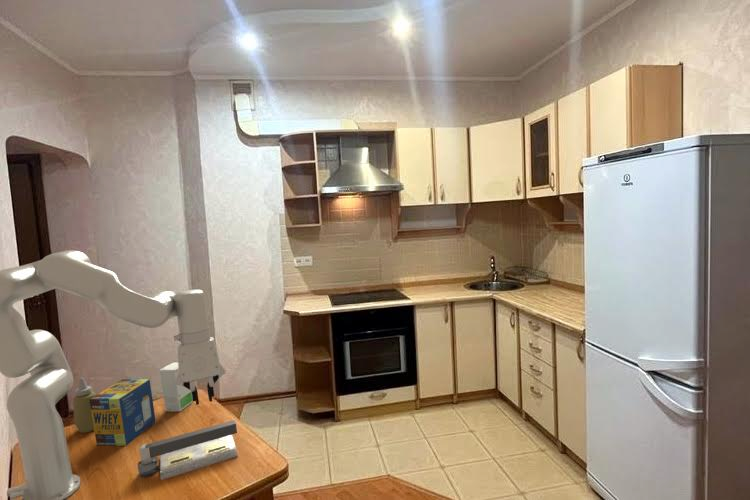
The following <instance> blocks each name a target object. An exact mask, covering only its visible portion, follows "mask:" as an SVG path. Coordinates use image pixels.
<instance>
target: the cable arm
mask: <svg viewBox="0 0 750 500" xmlns="http://www.w3.org/2000/svg"><path fill="white" fill-rule="evenodd" d="M237 430H238V428H237V423H236V420H234V419H233V420H231V421H226V422H223V423H220V424H219V423H218V424H216V425H212V426H209V427H205V428H201V429H197V430H193V431H190V432H186V433H183V434H179V435H176V436H171V437H168V438H165V439H161V440H158V441H154V442H151V443H145V444H143V445H141V446H139V448H138V450H139V455H140V456H139V457H140V461H141V463H142V464H143V465H145V464H149V463H151V462H152V461H153V460H154V459H153V457H158V456H161V455H163V454H166V453H170V452H173V451H177V450H180V449H183V448H187V447H190V446H194V445H197V444H201V443H204V442H208V441H211V440H215V439H218V438H222V437H225V436H229V435H232V436H233V435H235V434H238V431H237Z"/></svg>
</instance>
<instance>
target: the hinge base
mask: <svg viewBox="0 0 750 500" xmlns="http://www.w3.org/2000/svg"><path fill="white" fill-rule="evenodd" d="M153 459H154V460H153V461H152V462H151V463H149V464H145V465H143V464H142V463H141V460H140V461H139V462H138V463H137V471H138V476H139V477H140V478H142V479H143V478H144V479H146V478H149V477H152V476H154V475H156V474H157V473H158V472H159V470H160V465H159V458H158V456H156V457H153Z"/></svg>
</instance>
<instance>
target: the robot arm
mask: <svg viewBox="0 0 750 500" xmlns="http://www.w3.org/2000/svg"><path fill="white" fill-rule="evenodd" d="M55 289H58V290H60V291H64V292H66V293H69V294H72V295H75V296H79V297H81V298H84V300H85V299H86V300H89V301H90V302H94V303H96V304H98V305H99V306H100V307H101V308H102V309H104V310H105V311H106V312H108V313H109V314H111V315H112V316H114V317H115V318H118V319H120V320H122V321H124V322H128V323H131V324H134V325H136V326H139V327H143V328H148V329H154V328H155V329H156V328H159V327H162V326H163V325H164V324H166V323H167V322H168V321H169V320H171V319H173V318H174V317H177V325H178V332H179V333H177V334H176V335H173V340H174V342H175V341H177V342H178V341H179V343H178V345H177V362H178V367H179V372H178V374H177V377H176V380H175V384H176V385H180V386H184V387H186V388H188V389H189V390H190V391H192V398H193V402H195V404H196V406H199V405H200V404H199V403H200V399H199V393H198V388H197V385H196V381H200V380H204V379H207V381H208V382H207V385H206V388H207V395H208V400H209V402H213V397H215V394H214V393H215V392H214V391H215V390H214V386H215V384H216V382H217V381H218V380H219V378H221V377H223V376H224V375H225V374H226V369H225V368H224V367H223V365H222V364H221V363H220V358H219V353H218V352H219V351H218V348H217V344H216V341H215V339H214V336H211V330H210V329H211V328H210V322H209V315H208V306H207V300H206V299H207V298H206V294H205V292H204V291H203V290H202V289H188V290H183V291H170V290H169V291H168V290H164V291H163V290H162V291H159V292H156V293H154V294H153V295H150V296H149V297H148V296H146V295H144V294H141V293H138V292H135V291H133V290H131V289H129V288H128V287H126V286H124V285H123V284H122V283H121V282H120V280H119V278H118V275H117V274H116V272H115V271H114V272H113V271H111V270H109V269H107V268H103V267H100V266H99V265H96V264H92V262H91V259H90V258H89V256H87V254H85V253H84V252H82V251H79V250H74V249H71V250H70V249H69V250H67V249H66V250H63V251H59V252H54V253H50V254H48V255H46V256H44V257H43V258H42V259H40V260H37V261H33V262H31V263H27V264H23V265H19V266H15V267H10V268H4V269H1V270H0V374H2V376H5V377H7V378H9V379H10V378H12V379H15V378H20V377H23V376H25V375H28V374H30V376H28V377H27V378H26V379H24V380H22V381H20V383H18V384H17V385H16V386H14V388H13V389H12V390H11V391H10V392H9V394H8V397H7V400H6V409H7V412H8V414H9V417H10V419H11V421H12V423H13V427H14V428H15V433H16V437H17V438H16V439H17V442H18V447H19V451H20V457H21V462H22V467H23V473H24V477H25V482H24V483H22V484H21V485H18V486H13V487H9V488H7V490H6V494H7V495H6V496H7V497H9V498H10V500H15V499H18V498H20V497H21V500H65V499H67V498H68V497H70V496H71V495H72V494H74V493H75V492H76V491H77V490H78V489H79V487H80V486H81V477H80V476H79V475H77V474H73V471H72V466H71V460H70V454H69V450H68V443H67V437H66V432H65V426H64V423H63V422H64V421H63V419H62V417H61V415H60V413H59V412H58V411H57V408H56V404H57V403H58V402H59V401H60V400H61V399H63V398H64V397H65V396H66V395H68V393H69V392H70V391H71V389H72V388H73V385H74V376H73V373H72V370H71V367H70V365H69V362H68V361H67V357H66V356H65V353H64V350H63V349H62V346H61V344H60V341H59V340H58V339H57V338H56V337H55V335H54V334H52V333H51V332H49V331H47V330H43V329H32V330H29V327H28V326H27V323H26V320H25V318H24V317H23V315H22V314H21V313H20V312H19V311H18V310H17V309H16V308H14V305H15V303H17V302H20V301H23V300H24V301H25V300H26V299H30V298H32V297H35V296H38V295H41V294H43V293H46V292H49V291H53V290H55Z"/></svg>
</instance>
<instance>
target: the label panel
mask: <svg viewBox="0 0 750 500" xmlns="http://www.w3.org/2000/svg"><path fill="white" fill-rule="evenodd" d="M237 457H239V456H238V449H237V447H236V444H235V440H234V437H233V434H232V435H229V436H225V437H222V438H218V439H215V440H211V441H208V442H204V443H201V444H197V445H194V446H190V447H187V448H183V449H180V450H177V451H173V452H170V453H166V454H163V455H160V472H159V473H160V480H161V481H162V480H163V481H164V480H165V479H168V478H172V477H173V478H174V477H176V476H179V475H182V474H185V473H188V472H191V471H195V470H198V469H201V468H205V467H208V466H211V465H214V464H218V463H221V462H224V461H227V460H230V459H234V458H237Z"/></svg>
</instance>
